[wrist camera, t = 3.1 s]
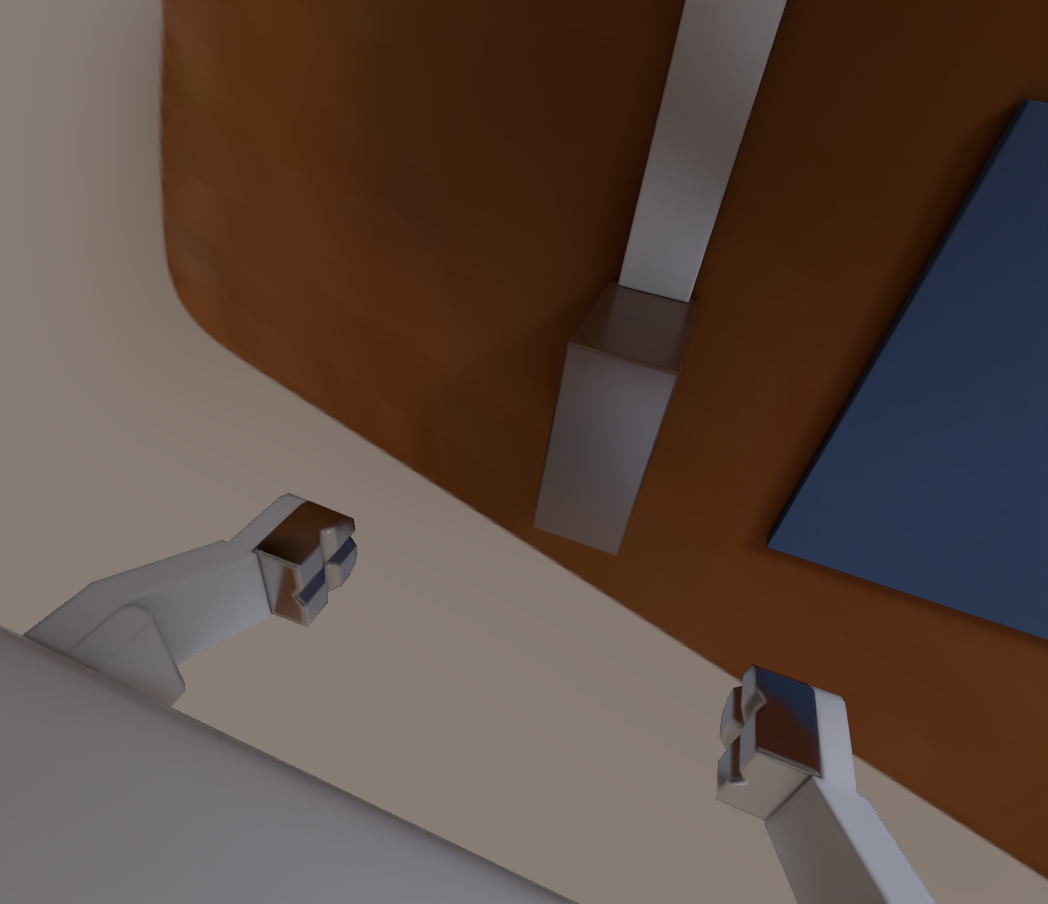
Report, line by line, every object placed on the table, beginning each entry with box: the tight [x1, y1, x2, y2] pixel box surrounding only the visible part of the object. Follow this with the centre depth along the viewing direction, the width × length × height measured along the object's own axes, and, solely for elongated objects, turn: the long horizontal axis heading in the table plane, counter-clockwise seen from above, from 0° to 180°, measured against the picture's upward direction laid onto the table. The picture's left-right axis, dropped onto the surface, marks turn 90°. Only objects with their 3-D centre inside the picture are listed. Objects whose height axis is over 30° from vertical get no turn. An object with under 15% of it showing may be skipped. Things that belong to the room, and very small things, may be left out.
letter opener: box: [532, 0, 787, 555], centre depth 14 cm, size 13×3×5 cm, turn 173°
